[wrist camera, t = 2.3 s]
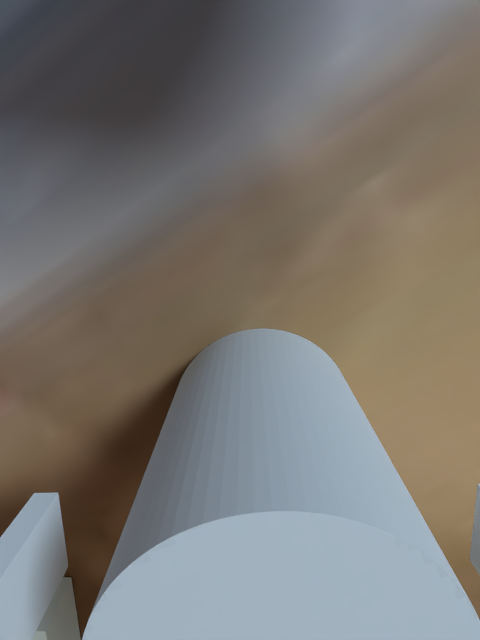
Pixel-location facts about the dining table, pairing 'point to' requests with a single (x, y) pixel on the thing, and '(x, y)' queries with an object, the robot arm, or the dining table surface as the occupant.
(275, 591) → the white round cylinder
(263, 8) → the dining table surface
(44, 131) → the dining table surface
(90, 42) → the dining table surface
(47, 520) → the robot arm
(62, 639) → the tray
